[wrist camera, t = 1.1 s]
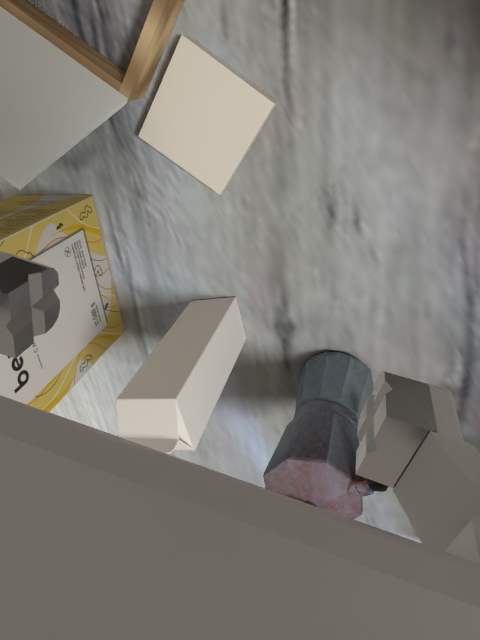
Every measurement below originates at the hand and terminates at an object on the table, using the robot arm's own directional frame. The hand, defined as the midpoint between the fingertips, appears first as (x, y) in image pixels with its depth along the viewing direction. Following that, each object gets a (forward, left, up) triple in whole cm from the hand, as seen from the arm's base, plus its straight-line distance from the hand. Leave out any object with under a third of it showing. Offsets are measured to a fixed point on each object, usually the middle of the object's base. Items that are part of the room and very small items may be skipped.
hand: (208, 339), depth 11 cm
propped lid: (+11, -25, -33) cm, 42 cm away
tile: (+6, -11, -36) cm, 38 cm away
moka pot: (+22, +18, -36) cm, 46 cm away
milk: (+25, +2, -36) cm, 44 cm away
